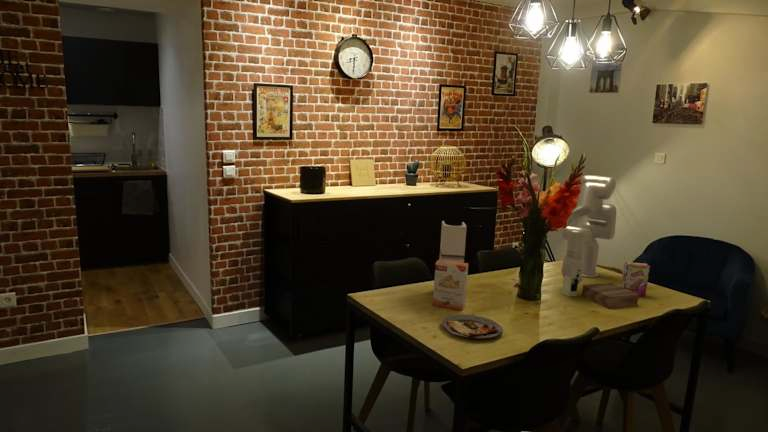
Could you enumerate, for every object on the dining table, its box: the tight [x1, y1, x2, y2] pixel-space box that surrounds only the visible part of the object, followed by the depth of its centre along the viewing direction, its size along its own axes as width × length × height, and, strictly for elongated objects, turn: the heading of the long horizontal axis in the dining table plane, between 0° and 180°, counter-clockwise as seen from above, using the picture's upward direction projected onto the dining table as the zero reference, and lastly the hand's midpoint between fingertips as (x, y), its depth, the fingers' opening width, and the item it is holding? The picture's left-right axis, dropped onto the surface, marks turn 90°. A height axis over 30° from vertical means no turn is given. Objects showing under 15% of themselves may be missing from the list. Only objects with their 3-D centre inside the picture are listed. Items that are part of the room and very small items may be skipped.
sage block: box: [561, 275, 579, 297], centre depth 269 cm, size 5×5×10 cm
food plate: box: [440, 314, 504, 340], centre depth 218 cm, size 25×23×4 cm
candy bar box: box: [620, 261, 651, 297], centre depth 273 cm, size 11×5×16 cm, turn 84°
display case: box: [438, 220, 467, 263], centre depth 258 cm, size 11×11×35 cm
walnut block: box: [581, 282, 640, 309], centre depth 263 cm, size 18×18×6 cm
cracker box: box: [432, 259, 469, 311], centre depth 242 cm, size 14×6×21 cm, turn 70°
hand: (570, 288), depth 269 cm, fingers closed on sage block, 4 cm apart
